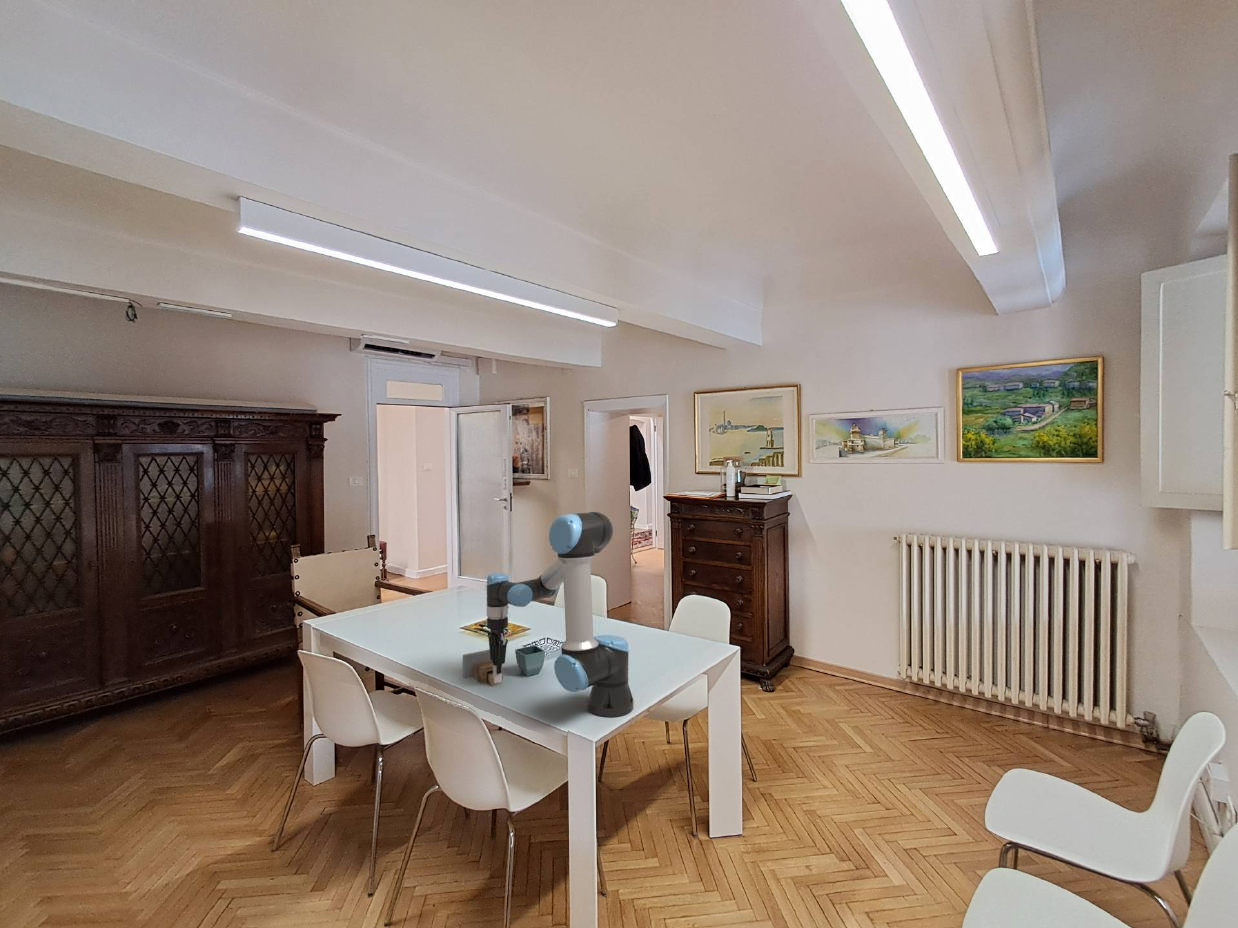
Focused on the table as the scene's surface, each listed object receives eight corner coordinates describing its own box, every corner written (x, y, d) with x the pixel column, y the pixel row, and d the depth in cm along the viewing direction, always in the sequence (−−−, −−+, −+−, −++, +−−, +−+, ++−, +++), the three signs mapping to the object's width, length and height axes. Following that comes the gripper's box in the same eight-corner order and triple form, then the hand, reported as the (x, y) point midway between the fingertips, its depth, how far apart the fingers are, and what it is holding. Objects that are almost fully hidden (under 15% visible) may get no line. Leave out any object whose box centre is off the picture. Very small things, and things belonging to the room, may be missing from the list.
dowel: (500, 684, 208) (500, 676, 208) (492, 686, 206) (492, 678, 206) (489, 676, 216) (489, 668, 216) (482, 678, 214) (482, 670, 214)
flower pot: (524, 679, 212) (524, 655, 212) (514, 672, 219) (514, 649, 219) (545, 674, 217) (545, 650, 217) (534, 667, 224) (534, 644, 224)
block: (502, 678, 213) (502, 664, 213) (482, 683, 208) (482, 668, 208) (493, 672, 219) (493, 658, 219) (473, 677, 214) (473, 662, 214)
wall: (499, 669, 222) (499, 649, 222) (464, 677, 214) (464, 656, 214) (497, 668, 224) (497, 647, 224) (462, 675, 216) (462, 654, 216)
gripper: (514, 618, 203) (514, 684, 203) (499, 611, 214) (499, 673, 214) (494, 622, 199) (494, 689, 199) (480, 614, 209) (480, 678, 209)
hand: (497, 681), depth 206 cm, fingers closed
